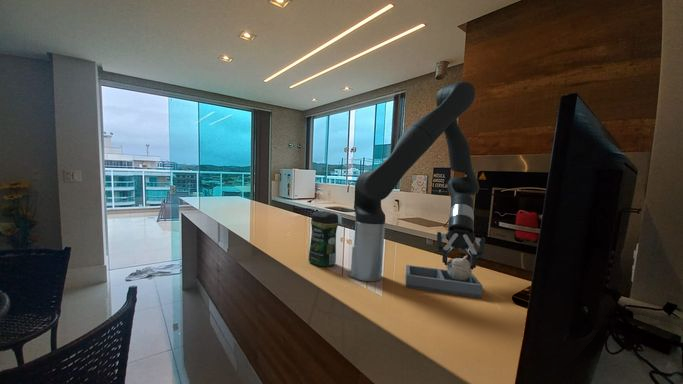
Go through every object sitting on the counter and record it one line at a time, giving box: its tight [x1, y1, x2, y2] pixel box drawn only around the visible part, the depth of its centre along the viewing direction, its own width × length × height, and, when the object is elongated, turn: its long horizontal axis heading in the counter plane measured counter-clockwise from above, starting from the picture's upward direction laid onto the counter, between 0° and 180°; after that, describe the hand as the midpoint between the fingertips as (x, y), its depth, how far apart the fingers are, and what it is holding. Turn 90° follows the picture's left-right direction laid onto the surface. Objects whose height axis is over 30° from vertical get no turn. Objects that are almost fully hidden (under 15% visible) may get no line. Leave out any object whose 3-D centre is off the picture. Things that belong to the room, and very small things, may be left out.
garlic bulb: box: [445, 254, 473, 280], centre depth 78 cm, size 7×6×8 cm
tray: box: [405, 264, 483, 300], centre depth 79 cm, size 20×11×4 cm, turn 76°
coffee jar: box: [308, 210, 339, 267], centre depth 94 cm, size 10×8×19 cm
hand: (458, 265), depth 77 cm, fingers closed on garlic bulb, 6 cm apart
